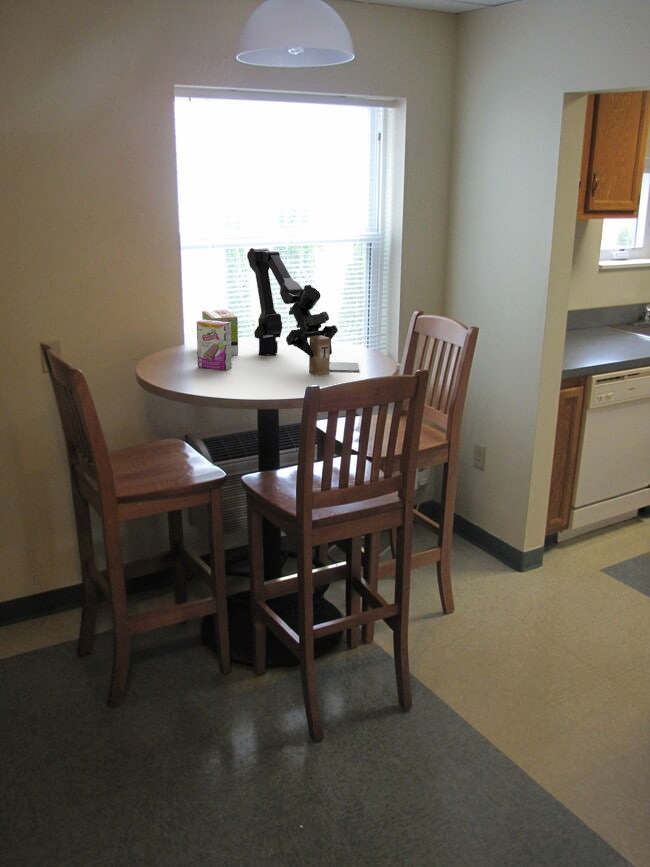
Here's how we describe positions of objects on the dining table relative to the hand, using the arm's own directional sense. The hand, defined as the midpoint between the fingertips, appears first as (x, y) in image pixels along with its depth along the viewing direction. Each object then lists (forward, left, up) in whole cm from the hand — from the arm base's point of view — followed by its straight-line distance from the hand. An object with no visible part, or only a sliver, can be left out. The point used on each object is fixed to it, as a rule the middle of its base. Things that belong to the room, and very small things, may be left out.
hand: (321, 355), depth 260 cm
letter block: (-1, +1, -7) cm, 7 cm away
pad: (+8, +9, -7) cm, 14 cm away
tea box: (-38, +30, -7) cm, 49 cm away
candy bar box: (-37, +5, -7) cm, 38 cm away
